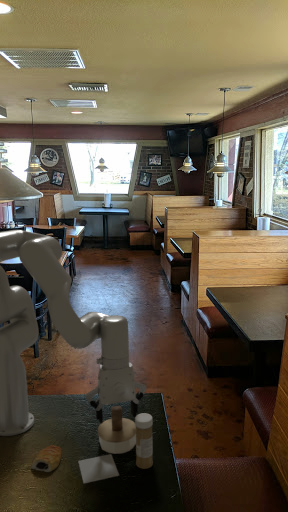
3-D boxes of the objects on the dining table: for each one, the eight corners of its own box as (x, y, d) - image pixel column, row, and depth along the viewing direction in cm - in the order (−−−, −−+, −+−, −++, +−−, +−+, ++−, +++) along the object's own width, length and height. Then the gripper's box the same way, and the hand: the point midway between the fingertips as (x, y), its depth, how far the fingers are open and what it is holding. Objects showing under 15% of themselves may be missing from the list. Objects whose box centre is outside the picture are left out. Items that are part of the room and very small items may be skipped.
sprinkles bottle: (135, 459, 111) (134, 413, 109) (152, 458, 111) (151, 411, 109) (136, 470, 106) (135, 422, 104) (154, 469, 107) (153, 421, 105)
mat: (83, 484, 102) (83, 483, 102) (78, 462, 110) (78, 460, 110) (119, 476, 104) (119, 475, 104) (111, 455, 113) (111, 454, 113)
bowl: (104, 458, 112) (103, 444, 111) (97, 437, 121) (96, 424, 121) (139, 450, 115) (139, 437, 114) (130, 430, 124) (129, 418, 123)
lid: (102, 445, 110) (101, 422, 109) (94, 424, 121) (93, 402, 120) (141, 438, 114) (141, 415, 113) (130, 417, 124) (130, 396, 123)
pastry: (45, 450, 116) (44, 437, 115) (67, 452, 115) (67, 440, 114) (29, 472, 107) (29, 459, 106) (54, 475, 106) (53, 462, 105)
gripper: (86, 370, 108) (89, 431, 111) (149, 361, 113) (150, 419, 116) (82, 359, 115) (84, 416, 118) (141, 351, 120) (142, 406, 123)
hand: (117, 418), depth 117 cm, fingers open, 9 cm apart
